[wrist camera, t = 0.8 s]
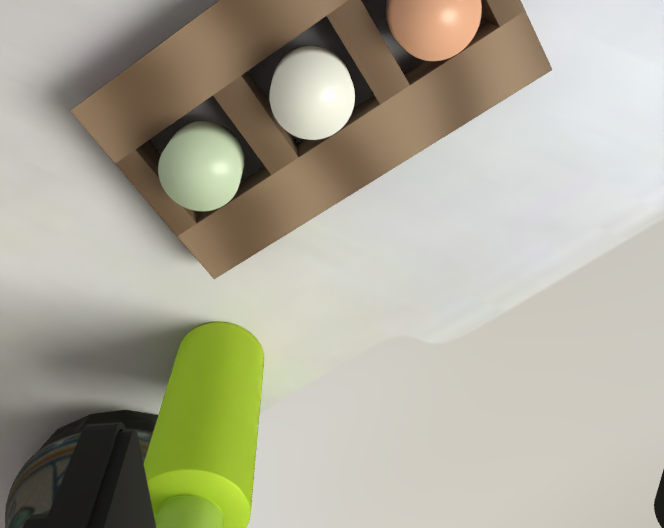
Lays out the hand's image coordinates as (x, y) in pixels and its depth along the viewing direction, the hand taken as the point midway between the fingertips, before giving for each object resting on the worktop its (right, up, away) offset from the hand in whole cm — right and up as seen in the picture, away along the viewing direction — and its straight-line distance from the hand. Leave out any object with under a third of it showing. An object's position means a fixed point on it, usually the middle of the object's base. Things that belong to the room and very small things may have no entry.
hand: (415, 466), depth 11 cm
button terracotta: (+3, +16, +21) cm, 26 cm away
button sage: (-8, +9, +24) cm, 27 cm away
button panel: (-3, +14, +24) cm, 27 cm away
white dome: (-2, +13, +22) cm, 26 cm away
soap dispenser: (-10, -3, +32) cm, 34 cm away
